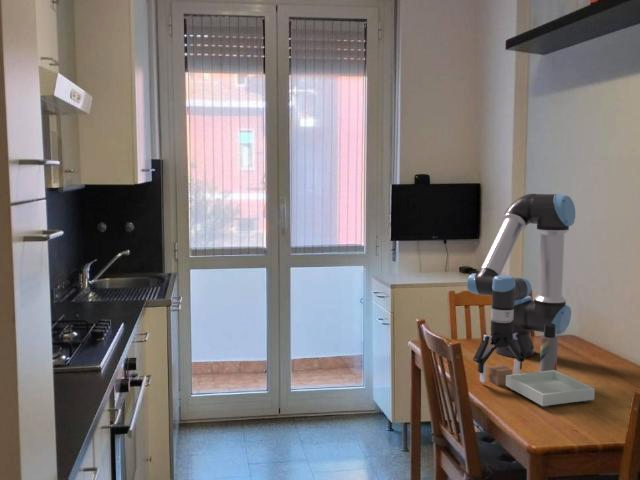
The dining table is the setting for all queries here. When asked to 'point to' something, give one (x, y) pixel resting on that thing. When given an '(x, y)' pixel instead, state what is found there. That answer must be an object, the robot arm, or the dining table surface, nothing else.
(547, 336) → the lotion bottle
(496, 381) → the walnut block
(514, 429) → the dining table surface
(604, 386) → the dining table surface
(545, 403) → the tray
